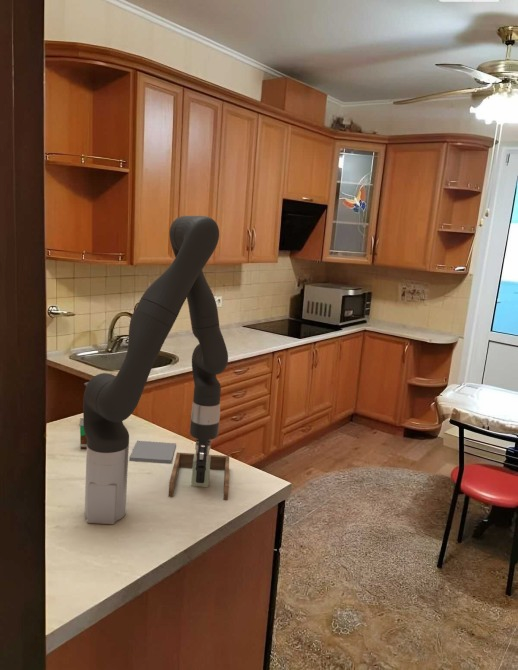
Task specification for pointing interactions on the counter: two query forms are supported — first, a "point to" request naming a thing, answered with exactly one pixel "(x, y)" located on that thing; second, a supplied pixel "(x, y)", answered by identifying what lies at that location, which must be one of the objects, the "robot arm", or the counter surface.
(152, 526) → the counter surface
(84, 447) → the food container
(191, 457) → the wooden u-shaped frame
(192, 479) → the sage block
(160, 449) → the slate mat
